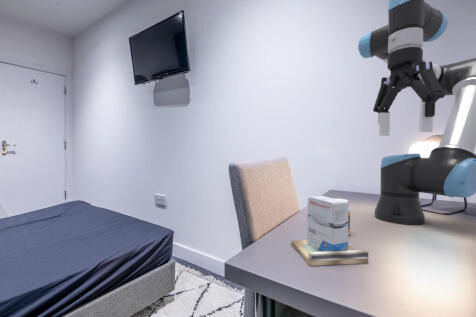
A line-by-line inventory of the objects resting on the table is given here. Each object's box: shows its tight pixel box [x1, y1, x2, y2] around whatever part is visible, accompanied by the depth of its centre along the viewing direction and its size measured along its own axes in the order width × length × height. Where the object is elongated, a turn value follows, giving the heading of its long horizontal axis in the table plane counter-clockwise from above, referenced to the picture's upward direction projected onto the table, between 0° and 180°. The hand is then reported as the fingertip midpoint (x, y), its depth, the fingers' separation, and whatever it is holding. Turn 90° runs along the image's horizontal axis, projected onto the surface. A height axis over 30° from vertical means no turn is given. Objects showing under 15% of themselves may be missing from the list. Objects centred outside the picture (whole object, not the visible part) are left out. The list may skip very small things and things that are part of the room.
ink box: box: [306, 195, 349, 252], centre depth 58 cm, size 8×5×12 cm, turn 23°
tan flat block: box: [290, 239, 369, 267], centre depth 58 cm, size 13×12×2 cm
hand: (402, 134), depth 64 cm, fingers open, 13 cm apart
